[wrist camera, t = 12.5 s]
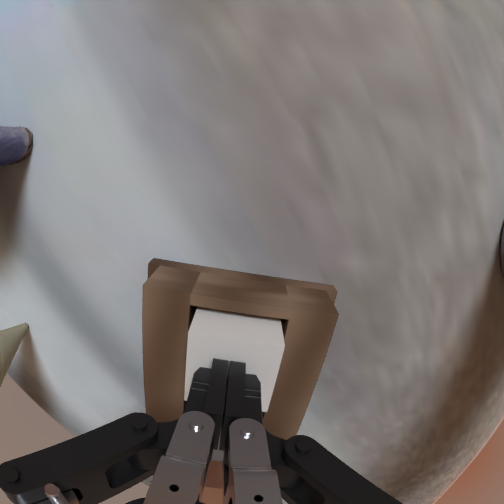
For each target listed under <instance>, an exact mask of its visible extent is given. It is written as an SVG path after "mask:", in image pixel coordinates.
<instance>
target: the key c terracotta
mask: <svg viewBox="0 0 504 504" xmlns="http://www.w3.org/2000/svg"><path fill="white" fill-rule="evenodd" d="M222 463H223V462H222V461H214V460H211V461H210V463H209V468H208V472H207V477H206V481H205V485H204V490H203V494H202V499H201V502H202V503H205V504H223V485H222Z"/></svg>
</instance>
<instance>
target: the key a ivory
mask: <svg viewBox="0 0 504 504" xmlns="http://www.w3.org/2000/svg"><path fill="white" fill-rule="evenodd" d="M284 348H285V343H284V337H283V331H282V325H281V319H280V318H273V317H265V316H258V315H251V314H244V313H237V312H230V311H224V310H218V309H211V308H205V307H199V306H198V307H197V309H196V312H195V315H194V318H193V320H192V323H191V326H190V328H189V331H188V341H187V356H186V373H185V392H184V401H187V399H188V395H189V391H190V386H191V383H192V379H193V375H194V372H195V371H196V370H197V369H198V368H200V367H204V368H210V369H211V367H212V362H213V358H216V359H222V360H229V364H230V361H237V362H244V363H246V374H254V375H256V376H257V377H258V379H259V381H260V382H261V404H262V412H267V411H268V407H269V404H270V400H271V397H272V393H273V390H274V386H275V382H276V379H277V375H278V371H279V367H280V364H281V360H282V356H283V352H284ZM229 364H228V370H229ZM227 376H228V373H227Z"/></svg>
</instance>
